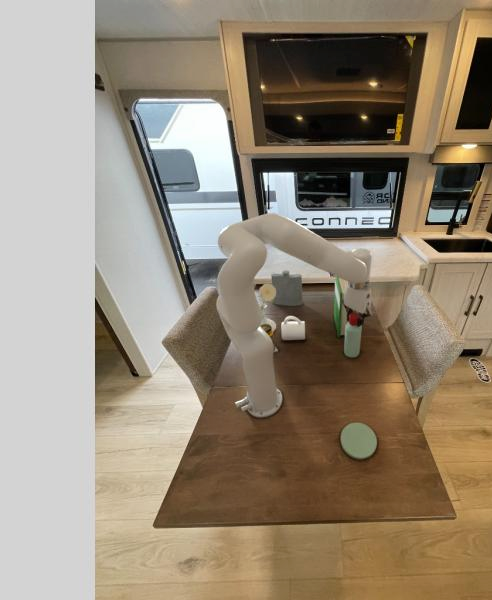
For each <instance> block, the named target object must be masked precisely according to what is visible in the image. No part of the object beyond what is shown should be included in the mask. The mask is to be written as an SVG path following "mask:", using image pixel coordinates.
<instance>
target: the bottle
mask: <svg viewBox="0 0 492 600" xmlns="http://www.w3.org/2000/svg"><path fill="white" fill-rule="evenodd" d="M362 330H363V325H361V326H360V327H358V326H352V325H350V324H349V322H348V323H347V324H346V326H345V335H344V344H343V345H344V346H343V354H344V355H345V356H346V357H347V358H357V357H358V356H359V355H360V350H361V341H362V340H361V339H362Z"/></svg>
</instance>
